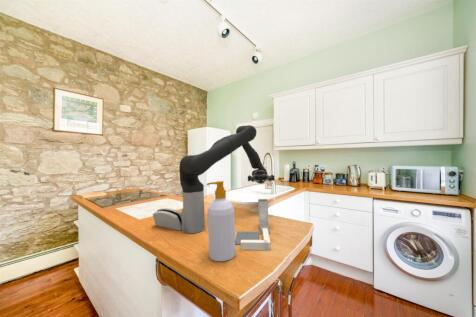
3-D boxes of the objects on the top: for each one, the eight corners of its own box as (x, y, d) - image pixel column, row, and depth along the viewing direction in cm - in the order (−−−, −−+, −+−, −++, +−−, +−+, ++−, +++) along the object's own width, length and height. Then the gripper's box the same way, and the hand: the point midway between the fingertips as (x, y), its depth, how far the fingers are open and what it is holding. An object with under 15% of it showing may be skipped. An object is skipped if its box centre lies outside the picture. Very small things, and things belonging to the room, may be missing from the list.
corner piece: (240, 249, 60) (240, 242, 60) (242, 234, 72) (242, 228, 72) (270, 250, 59) (270, 242, 59) (267, 234, 72) (267, 228, 72)
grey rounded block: (189, 226, 83) (183, 208, 80) (182, 233, 79) (175, 214, 76) (163, 221, 90) (157, 205, 87) (156, 228, 86) (149, 210, 83)
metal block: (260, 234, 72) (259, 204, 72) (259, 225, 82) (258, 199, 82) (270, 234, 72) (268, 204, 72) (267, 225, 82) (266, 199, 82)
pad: (234, 244, 64) (234, 244, 64) (237, 232, 75) (237, 231, 75) (259, 245, 63) (259, 244, 63) (258, 232, 74) (258, 231, 74)
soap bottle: (201, 256, 57) (199, 182, 57) (224, 245, 64) (221, 179, 64) (218, 266, 51) (215, 184, 51) (241, 253, 57) (238, 180, 58)
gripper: (248, 170, 106) (247, 172, 90) (272, 169, 105) (275, 171, 89) (248, 182, 106) (247, 187, 90) (272, 182, 105) (276, 186, 89)
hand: (261, 179), depth 90 cm, fingers open, 8 cm apart
